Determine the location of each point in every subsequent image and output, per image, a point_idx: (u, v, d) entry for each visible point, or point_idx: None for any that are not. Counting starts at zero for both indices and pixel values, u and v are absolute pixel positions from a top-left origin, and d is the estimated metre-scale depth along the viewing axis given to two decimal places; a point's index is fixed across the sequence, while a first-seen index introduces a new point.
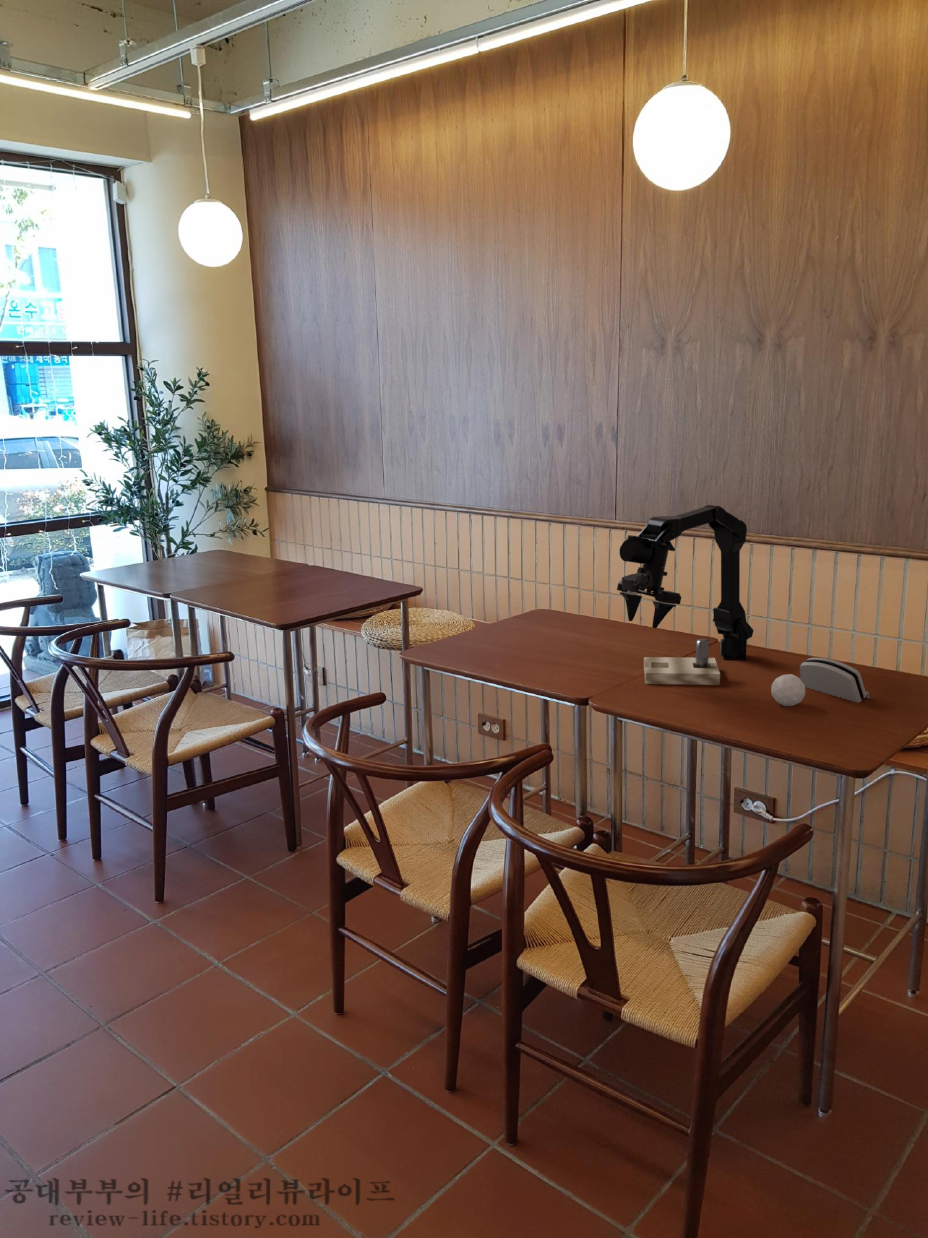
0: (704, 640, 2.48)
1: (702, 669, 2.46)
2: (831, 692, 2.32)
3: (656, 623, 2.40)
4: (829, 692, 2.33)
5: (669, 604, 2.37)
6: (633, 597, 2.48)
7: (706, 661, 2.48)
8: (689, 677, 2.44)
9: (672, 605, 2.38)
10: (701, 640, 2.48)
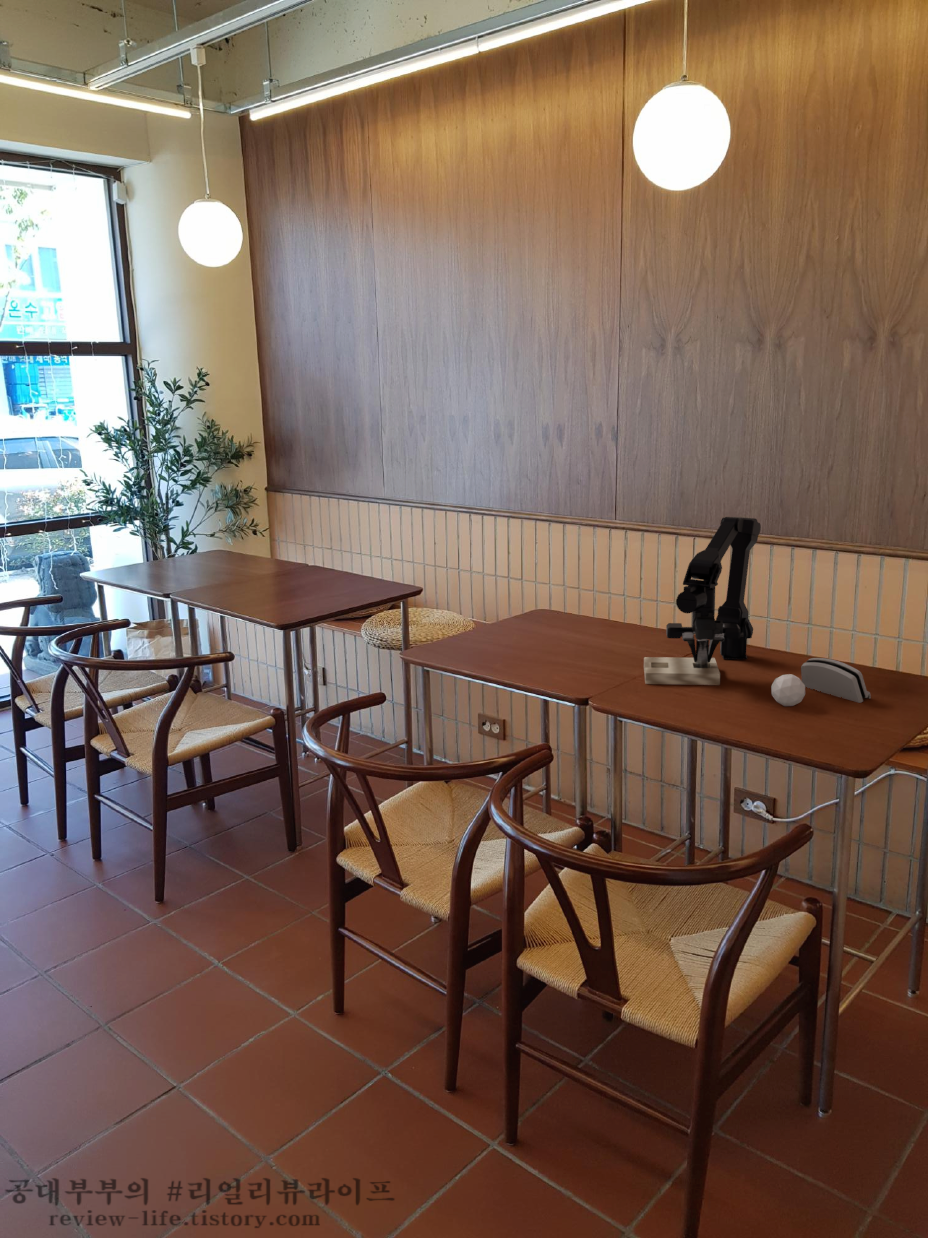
0: (704, 640, 2.48)
1: (702, 669, 2.46)
2: (833, 692, 2.32)
3: None
4: (831, 692, 2.33)
5: None
6: None
7: (706, 661, 2.48)
8: (689, 677, 2.44)
9: None
10: (701, 640, 2.48)
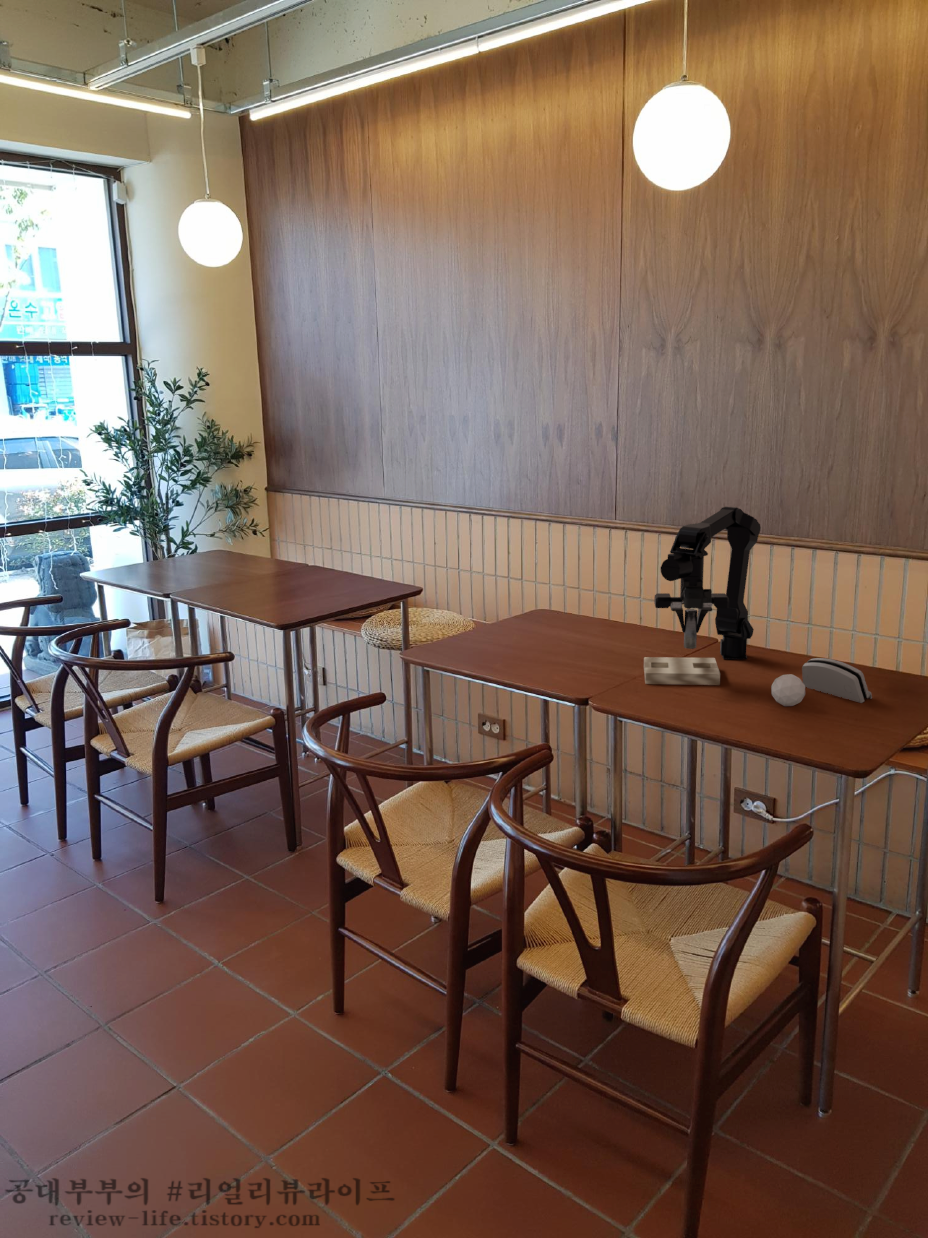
0: (693, 610, 2.46)
1: (702, 669, 2.46)
2: (834, 692, 2.32)
3: (699, 627, 2.46)
4: (832, 692, 2.32)
5: None
6: None
7: (695, 631, 2.46)
8: (689, 677, 2.44)
9: None
10: (690, 610, 2.46)
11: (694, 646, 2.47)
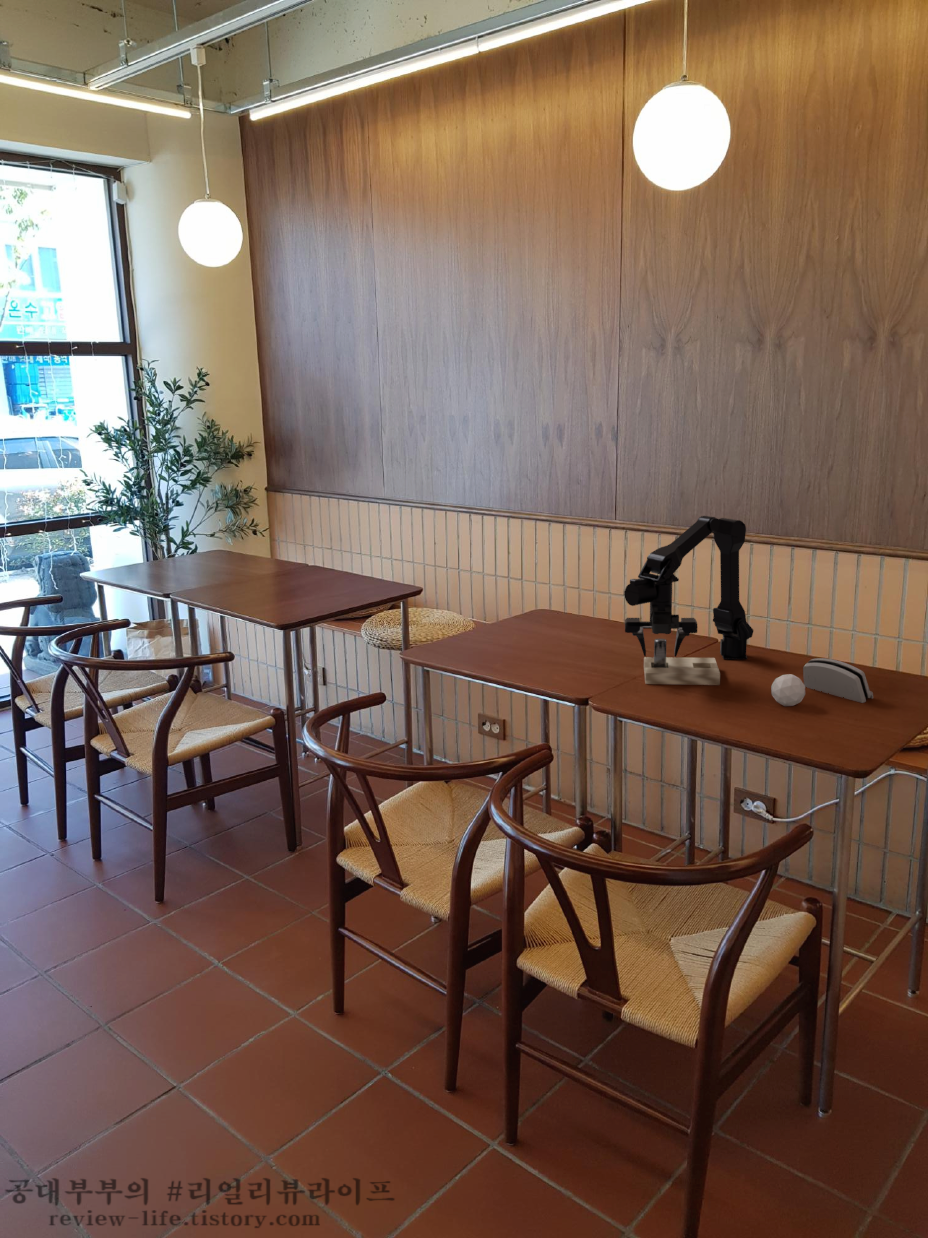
0: (662, 640, 2.49)
1: (702, 669, 2.46)
2: (835, 693, 2.32)
3: (677, 651, 2.49)
4: (833, 693, 2.32)
5: None
6: (643, 633, 2.50)
7: (664, 661, 2.49)
8: (689, 677, 2.44)
9: None
10: (659, 640, 2.49)
11: None
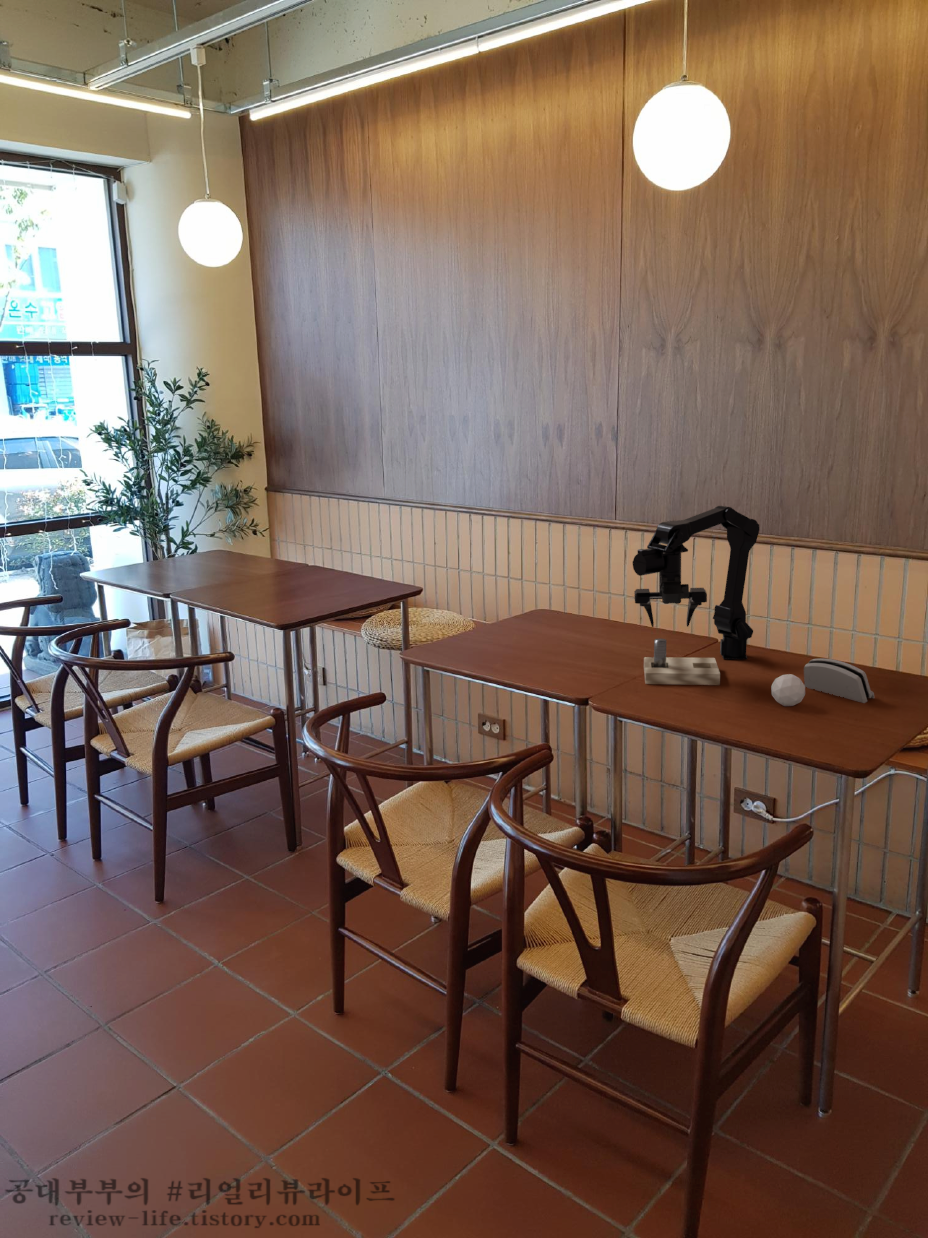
0: (662, 640, 2.49)
1: (702, 669, 2.46)
2: (836, 693, 2.32)
3: (689, 621, 2.51)
4: (834, 693, 2.32)
5: None
6: None
7: (664, 661, 2.49)
8: (689, 677, 2.44)
9: None
10: (659, 640, 2.49)
11: None
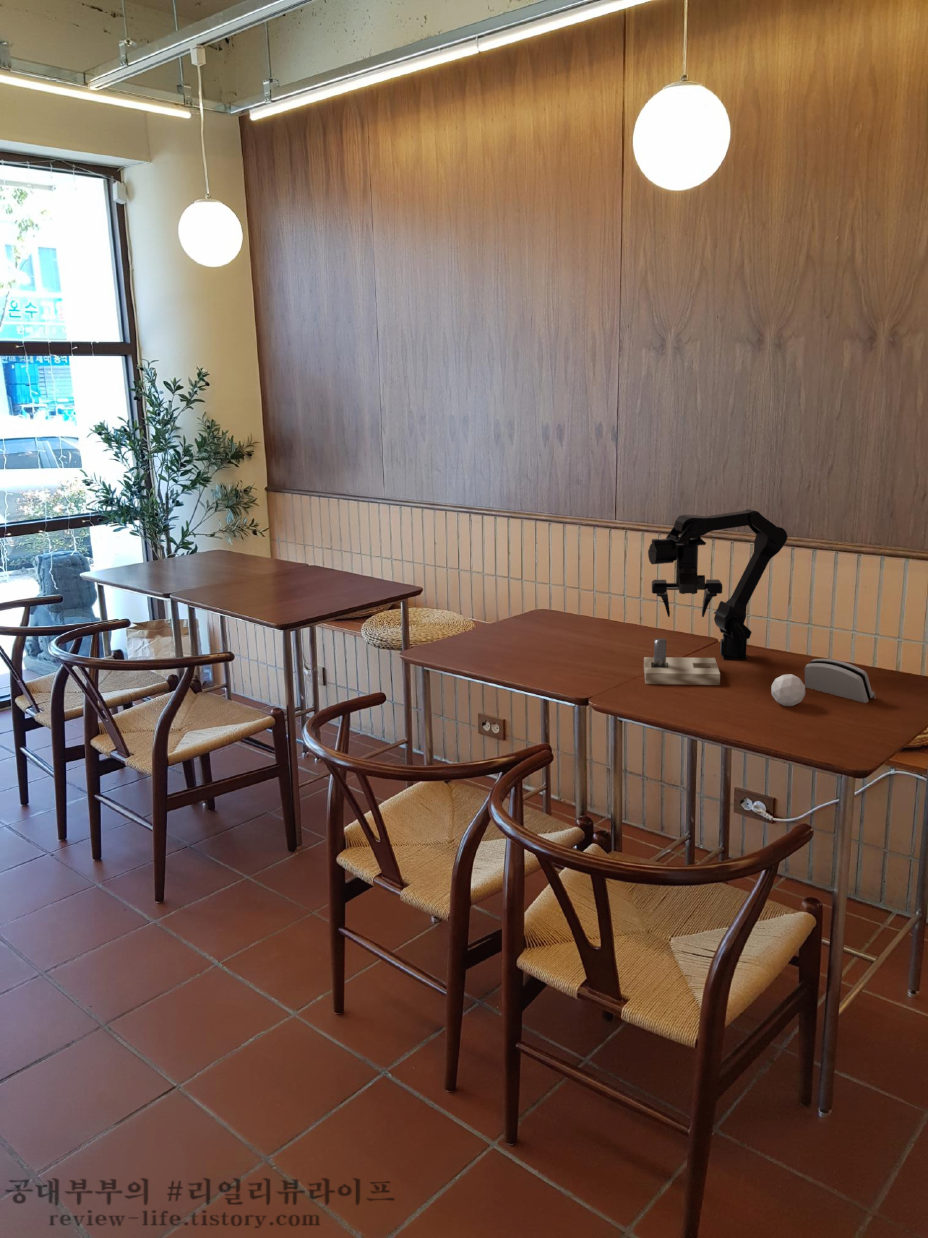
0: (662, 640, 2.49)
1: (702, 669, 2.46)
2: (837, 693, 2.31)
3: (705, 611, 2.58)
4: (835, 693, 2.32)
5: None
6: None
7: (664, 661, 2.49)
8: (689, 677, 2.44)
9: None
10: (659, 640, 2.49)
11: None
